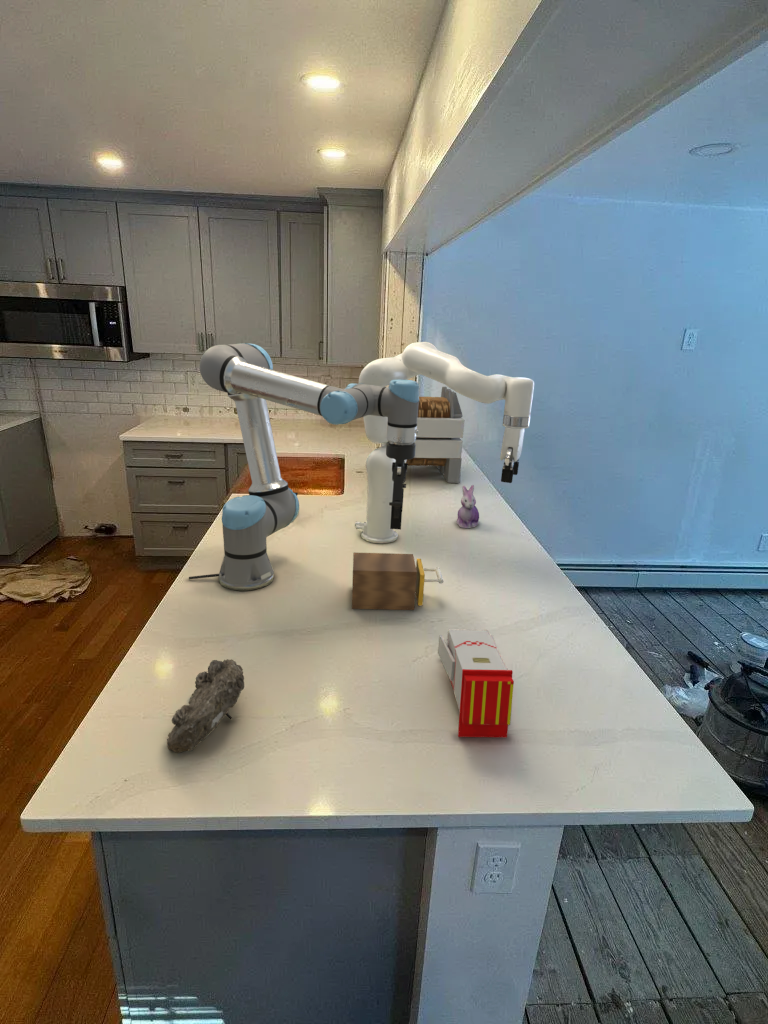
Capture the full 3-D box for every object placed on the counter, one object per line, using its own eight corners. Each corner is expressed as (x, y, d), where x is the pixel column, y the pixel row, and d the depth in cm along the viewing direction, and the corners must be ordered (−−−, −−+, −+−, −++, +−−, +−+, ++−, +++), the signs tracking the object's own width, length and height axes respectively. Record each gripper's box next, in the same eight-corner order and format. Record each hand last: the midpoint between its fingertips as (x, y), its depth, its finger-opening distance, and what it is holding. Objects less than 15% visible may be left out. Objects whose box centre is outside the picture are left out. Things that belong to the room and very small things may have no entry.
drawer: (437, 588, 160) (439, 559, 157) (442, 606, 150) (444, 575, 147) (365, 586, 159) (366, 557, 156) (365, 604, 149) (366, 573, 146)
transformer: (382, 463, 289) (386, 382, 275) (445, 464, 293) (451, 384, 279) (390, 482, 257) (394, 392, 243) (460, 483, 261) (468, 394, 247)
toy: (488, 613, 130) (523, 677, 101) (484, 667, 133) (517, 744, 104) (435, 612, 130) (455, 676, 101) (432, 666, 133) (451, 743, 103)
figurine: (465, 530, 205) (468, 491, 200) (449, 521, 213) (452, 483, 208) (486, 527, 209) (490, 488, 204) (469, 518, 218) (473, 480, 213)
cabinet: (410, 590, 160) (413, 553, 157) (414, 610, 150) (416, 571, 146) (352, 588, 160) (353, 552, 156) (351, 608, 149) (352, 570, 145)
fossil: (192, 660, 117) (244, 628, 112) (224, 691, 120) (276, 661, 115) (142, 746, 98) (202, 712, 93) (182, 779, 101) (242, 748, 96)
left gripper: (415, 454, 133) (409, 538, 140) (416, 432, 157) (411, 505, 164) (383, 452, 133) (379, 536, 141) (389, 431, 157) (385, 503, 164)
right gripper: (508, 415, 173) (502, 469, 179) (497, 424, 158) (491, 483, 164) (533, 418, 171) (526, 472, 176) (524, 427, 155) (517, 487, 161)
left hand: (396, 519), depth 152 cm, fingers open, 13 cm apart
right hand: (509, 478), depth 170 cm, fingers open, 9 cm apart
